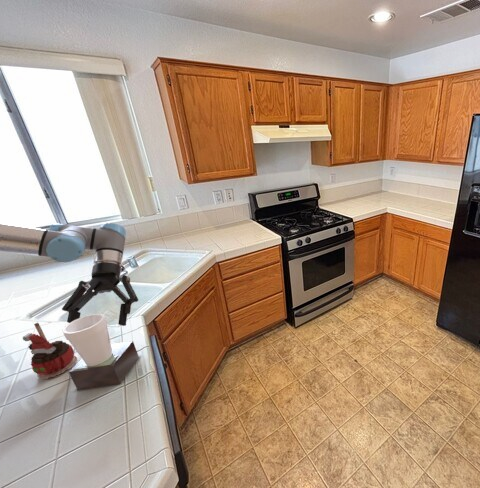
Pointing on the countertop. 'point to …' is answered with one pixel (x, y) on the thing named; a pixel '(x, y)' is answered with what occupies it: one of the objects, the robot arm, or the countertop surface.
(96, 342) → the foam cup
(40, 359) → the cake
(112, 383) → the box
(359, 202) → the countertop surface
